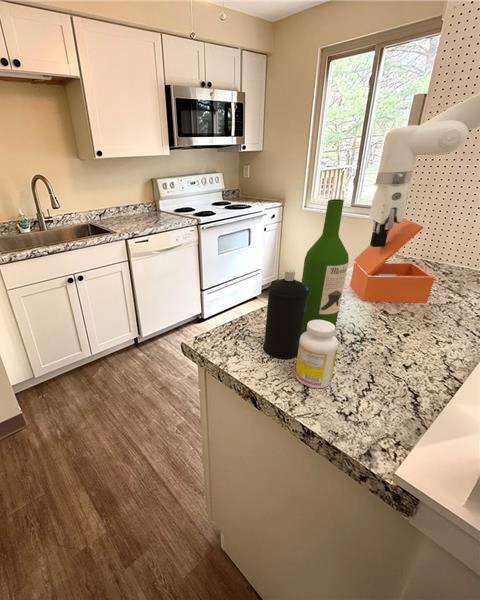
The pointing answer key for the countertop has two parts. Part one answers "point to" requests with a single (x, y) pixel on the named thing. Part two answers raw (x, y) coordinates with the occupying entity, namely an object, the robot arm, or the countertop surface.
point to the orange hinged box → (393, 283)
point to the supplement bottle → (317, 354)
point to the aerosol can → (285, 316)
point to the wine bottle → (325, 270)
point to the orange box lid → (387, 246)
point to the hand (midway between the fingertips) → (377, 245)
